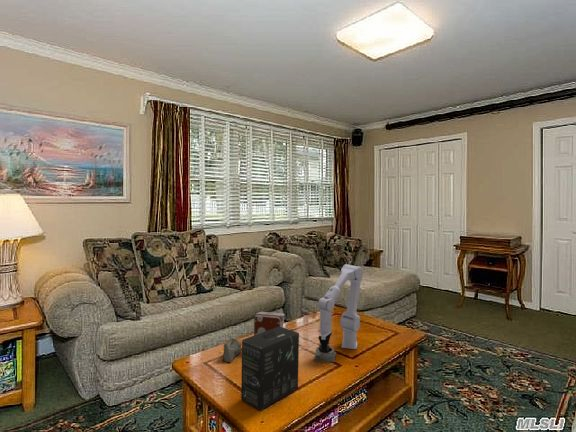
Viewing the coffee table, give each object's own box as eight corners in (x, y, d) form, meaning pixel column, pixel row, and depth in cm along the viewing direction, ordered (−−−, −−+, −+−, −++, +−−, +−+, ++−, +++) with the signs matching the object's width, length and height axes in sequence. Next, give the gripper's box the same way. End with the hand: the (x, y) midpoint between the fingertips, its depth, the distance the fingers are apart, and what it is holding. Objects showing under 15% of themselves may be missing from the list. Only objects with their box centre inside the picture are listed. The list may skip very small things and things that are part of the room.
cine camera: (289, 357, 176) (290, 318, 175) (252, 353, 179) (252, 315, 178) (293, 349, 185) (293, 312, 184) (257, 346, 188) (258, 309, 187)
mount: (316, 351, 182) (316, 344, 182) (336, 353, 180) (336, 346, 180) (313, 360, 173) (313, 352, 173) (333, 362, 170) (333, 354, 170)
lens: (320, 349, 180) (320, 339, 179) (330, 350, 178) (330, 341, 178) (318, 353, 175) (318, 343, 174) (328, 355, 173) (328, 345, 173)
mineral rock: (239, 350, 184) (239, 331, 183) (249, 357, 175) (249, 337, 175) (216, 356, 176) (216, 336, 175) (226, 364, 167) (226, 344, 167)
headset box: (278, 378, 155) (279, 320, 154) (299, 388, 147) (300, 327, 146) (239, 399, 138) (240, 335, 137) (261, 412, 130) (261, 344, 129)
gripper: (319, 316, 184) (319, 341, 184) (315, 326, 169) (314, 353, 170) (333, 317, 182) (332, 343, 182) (329, 327, 168) (329, 355, 168)
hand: (325, 348), depth 176 cm, fingers closed on lens, 5 cm apart
